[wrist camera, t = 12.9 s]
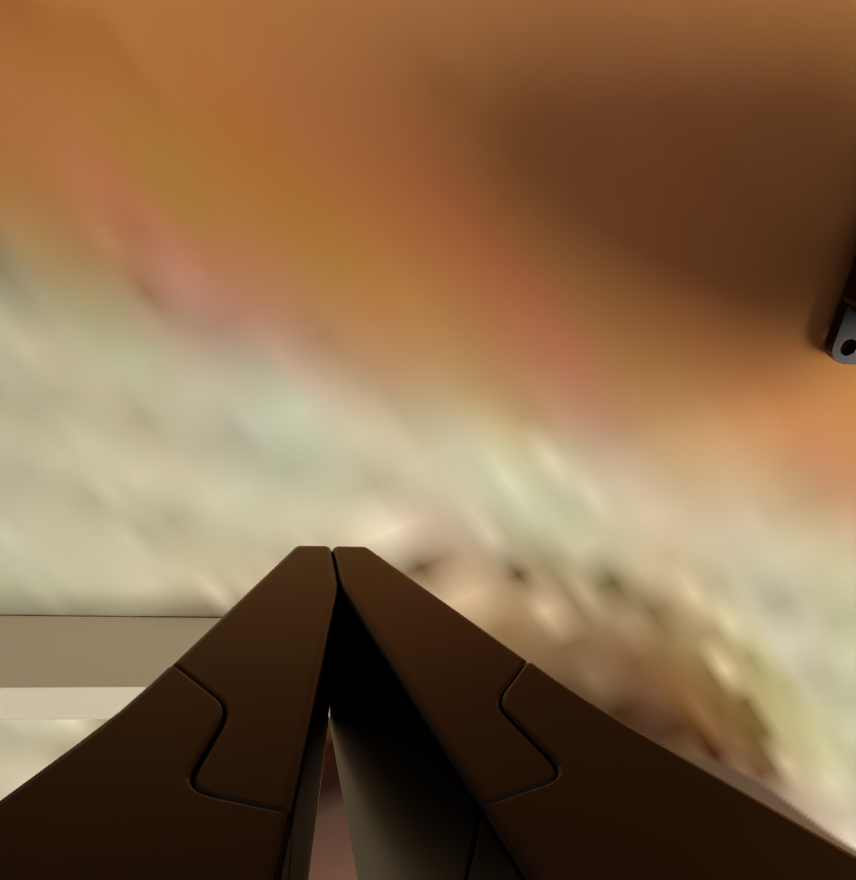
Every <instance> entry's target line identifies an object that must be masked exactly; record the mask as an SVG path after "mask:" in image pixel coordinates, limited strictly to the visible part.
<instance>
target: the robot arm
mask: <svg viewBox="0 0 856 880" xmlns="http://www.w3.org/2000/svg"><path fill="white" fill-rule="evenodd" d="M842 294H843V295H842V297H841V300H840V303H839V306H838V308H837V311H836V314H835V317H834V319H833V322H832V325H831V328H830V330H829V333H828V336H827V339H826V342H825V351H826V354H827V355H828V356H829V357H831V358H832V359H834V360H835V361H837V362H839V363H843V364H856V256H855V259H854V262H853V265H852V267H851V270H850V273H849V276H848V279H847V281H846V284H845V287H844V290H843V293H842ZM847 340H849V344H848V345H847V347H846V348H844V349H843V350H840V349H841V346H842V344H843V343H844V342H845V341H847ZM329 714H330V725H331V732H332V739H333V745H334V750H335V756H336V761H337V767H338V773H339V778H340V784H341V789H342V795H343V801H344V806H345V811H346V817H347V823H348V828H349V834H350V840H351V845H352V851H353V856H354V862H355V868H356V873H357V879H358V880H856V857H855V856H854V855H852V854H850V853H848V852H847V851H845V850H843V849H842V848H840V847H838V846H836V845H835V844H833V843H831V842H829V841H828V840H826V839H824V838H822V837H821V836H819V835H817V834H815V833H814V832H812V831H810V830H809V829H806V828H805V827H803V826H801V825H800V824H798V823H796V822H794V821H793V820H791V819H789V818H788V817H786V816H784V815H783V814H781V813H779V812H777V811H775V810H774V809H772V808H770V807H769V806H767V805H765V804H764V803H762V802H760V801H758V800H757V799H755V798H753V797H751V796H750V795H748V794H746V793H744V792H743V791H741V790H739V789H737V788H736V787H734V786H732V785H731V784H729V783H727V782H725V781H724V780H722V779H720V778H718V777H717V776H715V775H713V774H711V773H710V772H708V771H706V770H705V769H703V768H701V767H699V766H698V765H696V764H694V763H692V762H691V761H689V760H687V759H685V758H684V757H682V756H680V755H679V754H677V753H675V752H673V751H672V750H670V749H668V748H666V747H665V746H663V745H661V744H659V743H658V742H656V741H654V740H653V739H651V738H649V737H647V736H646V735H644V734H642V733H640V732H639V731H637V730H635V729H633V728H632V727H630V726H628V725H627V724H625V723H623V722H622V721H620V720H618V719H617V718H615V717H613V716H612V715H610V714H608V713H607V712H605V711H603V710H602V709H600V708H598V707H597V706H595V705H593V704H592V703H590V702H589V701H587V700H586V699H584V698H583V697H581V696H580V695H578V694H577V693H575V692H574V691H572V690H571V689H569V688H568V687H566V686H564V685H563V684H561V683H560V682H558V681H557V680H555V679H554V678H553V677H551V676H550V675H548V674H547V673H545V672H544V671H543V670H541V669H540V668H538V667H537V666H536V665H534V664H533V663H527V661H526V660H525V659H524V658H522V657H521V656H519V655H518V654H516V653H515V652H514V651H512V650H511V649H509V648H508V647H507V646H505V645H504V644H502V643H501V642H499V641H498V640H497V639H495V638H494V637H492V636H491V635H490V634H488V633H487V632H485V631H484V630H482V629H481V628H480V627H478V626H477V625H475V624H474V623H473V622H471V621H470V620H468V619H467V618H465V617H464V616H463V615H461V614H460V613H458V612H457V611H456V610H454V609H453V608H451V607H450V606H448V605H447V604H446V603H444V602H443V601H441V600H440V599H439V598H437V597H436V596H434V595H433V594H431V593H430V592H429V591H427V590H426V589H424V588H423V587H422V586H420V585H419V584H417V583H416V582H414V581H413V580H412V579H410V578H409V577H407V576H406V575H405V574H403V573H402V572H400V571H399V570H397V569H396V568H395V567H393V566H392V565H390V564H389V563H388V562H386V561H385V560H383V559H382V558H380V557H379V556H378V555H376V554H375V553H373V552H372V551H371V550H369V549H367V548H365V547H341V546H339V547H335V548H334V549H333V550H332V552H331V550H330V548H329V547H326V546H298V547H296V548H295V549H294V550H293V551H292V552H290V553H289V554H288V555H287V556H286V557H285V558H284V559H283V560H282V561H281V562H280V563H279V564H278V565H277V566H276V567H275V568H274V569H273V570H272V571H271V572H269V573H268V574H267V575H266V576H265V577H264V578H263V579H262V580H261V581H260V582H259V583H258V584H257V585H256V586H255V587H254V588H253V589H252V590H251V591H250V592H249V593H247V594H246V595H245V596H244V597H243V598H242V599H241V600H240V601H239V602H238V603H237V604H236V605H235V606H234V607H233V608H232V609H231V610H230V611H229V612H228V613H226V614H225V615H224V616H223V617H222V618H221V619H220V620H219V621H218V622H217V623H216V624H215V625H214V626H213V627H212V628H211V629H210V630H209V631H208V632H207V633H206V634H204V635H203V636H202V637H201V638H200V639H199V640H198V641H197V642H196V643H195V644H194V645H193V646H192V647H191V648H190V649H189V650H188V651H187V652H186V653H185V654H183V655H182V656H181V657H180V658H179V659H178V660H177V661H176V662H175V663H174V664H173V665H172V667H168V668H167V669H166V670H165V671H164V672H163V673H162V674H161V675H160V676H159V677H158V678H157V679H156V680H155V681H153V682H152V683H151V684H150V685H149V686H148V687H147V688H146V689H145V690H143V691H142V692H141V693H140V694H139V695H138V696H137V697H136V698H134V699H133V700H132V701H131V702H130V703H129V704H128V705H126V706H125V707H124V708H123V709H122V710H121V711H120V712H118V713H117V714H116V715H114V716H113V717H112V718H111V719H109V720H108V721H107V722H105V723H104V724H103V725H102V726H100V727H99V728H98V729H96V730H95V731H94V732H93V733H91V734H90V735H89V736H87V737H86V738H85V739H84V740H82V741H81V742H80V743H78V744H77V745H76V746H74V747H73V748H72V749H70V750H69V751H67V752H66V753H65V754H63V755H62V756H61V757H59V758H58V759H57V760H55V761H54V762H53V763H51V764H50V765H48V766H47V767H46V768H44V769H43V770H42V771H40V772H39V773H38V774H36V775H35V776H33V777H32V778H31V779H29V780H28V781H27V782H25V783H24V784H23V785H21V786H20V787H18V788H17V789H16V790H14V791H13V792H12V793H10V794H9V795H8V796H6V797H5V798H3V799H2V800H1V801H0V880H308V879H309V872H310V863H311V856H312V848H313V840H314V832H315V824H316V817H317V809H318V801H319V793H320V785H321V778H322V770H323V762H324V754H325V746H326V739H327V728H328V716H329Z"/></svg>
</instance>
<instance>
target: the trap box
mask: <svg viewBox="0 0 856 880" xmlns="http://www.w3.org/2000/svg"><path fill="white" fill-rule="evenodd" d="M220 619H221V618H175V617H77V616H0V720H54V719H111V718H112V717H113V716H114V715H116V714H117V713H118V712H120V711H121V710H122V709H123V708H124V707H125V706H126V705H128V704H129V703H130V702H131V701H132V700H133V699H134V698H136V697H137V696H138V695H139V694H140V693H141V692H142V691H143V690H145V689H146V688H147V687H148V686H149V685H150V684H151V683H152V682H153V681H155V680H156V679H157V678H158V677H159V676H160V675H161V674H162V673H163V672H164V671H165V670H166V669H167V668H168V667H172V665H173V664H174V663H175V662H176V661H177V660H178V659H179V658H180V657H181V656H182V655H183V654H185V653H186V652H187V651H188V650H189V649H190V648H191V647H192V646H193V645H194V644H195V643H196V642H197V641H198V640H199V639H200V638H201V637H202V636H203V635H204V634H206V633H207V632H208V631H209V630H210V629H211V628H212V627H213V626H214V625H215V624H216V623H217V622H218V621H219V620H220ZM328 717H330V714H329V716H328Z"/></svg>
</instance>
